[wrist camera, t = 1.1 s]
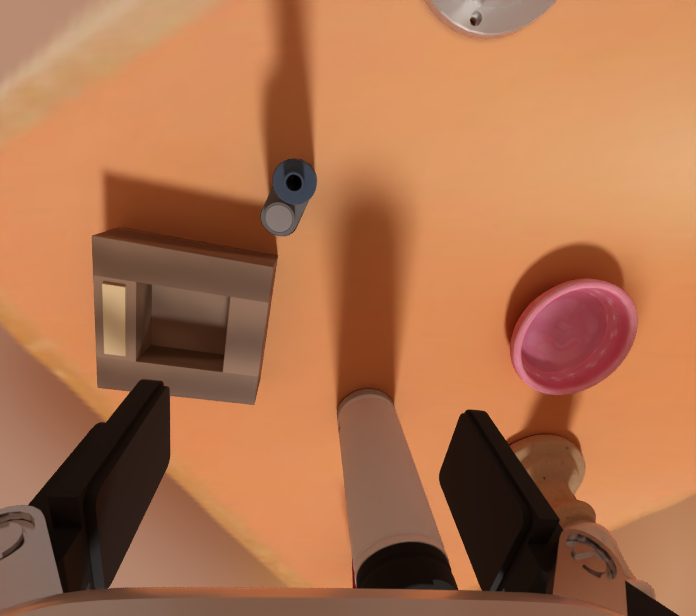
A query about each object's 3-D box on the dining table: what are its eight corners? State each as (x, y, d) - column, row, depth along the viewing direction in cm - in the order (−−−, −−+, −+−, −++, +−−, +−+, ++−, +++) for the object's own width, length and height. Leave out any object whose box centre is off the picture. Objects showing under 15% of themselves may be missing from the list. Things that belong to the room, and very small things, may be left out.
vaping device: (320, 171, 29) (327, 173, 18) (293, 228, 31) (283, 262, 20) (292, 155, 29) (281, 145, 18) (265, 214, 30) (239, 240, 19)
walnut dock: (119, 227, 29) (90, 236, 25) (277, 255, 31) (273, 268, 28) (120, 363, 34) (96, 389, 30) (260, 380, 36) (253, 406, 32)
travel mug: (323, 420, 38) (335, 655, 20) (361, 377, 37) (413, 587, 18) (367, 445, 40) (416, 681, 22) (405, 405, 39) (493, 622, 20)
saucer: (497, 387, 39) (512, 405, 36) (501, 281, 35) (519, 292, 32) (604, 369, 40) (627, 385, 37) (622, 263, 35) (650, 271, 32)
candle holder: (580, 492, 47) (760, 708, 28) (490, 518, 47) (609, 751, 28) (577, 420, 42) (792, 621, 23) (477, 449, 42) (611, 672, 23)
